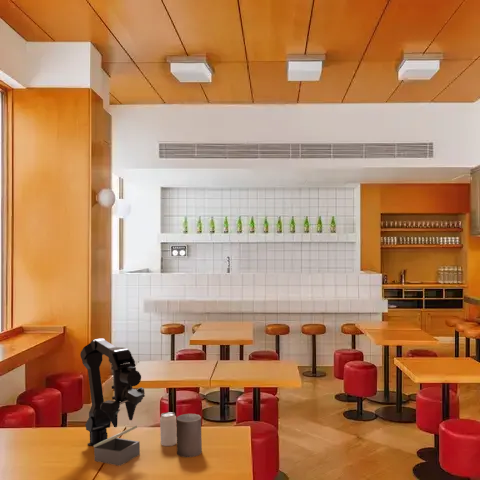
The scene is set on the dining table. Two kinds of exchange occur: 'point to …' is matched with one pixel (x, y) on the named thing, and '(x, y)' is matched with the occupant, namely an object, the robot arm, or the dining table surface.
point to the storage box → (117, 451)
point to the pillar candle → (189, 435)
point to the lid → (114, 436)
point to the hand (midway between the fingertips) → (123, 423)
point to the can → (168, 429)
